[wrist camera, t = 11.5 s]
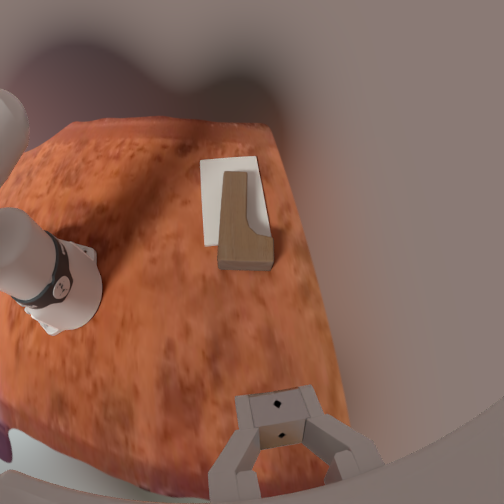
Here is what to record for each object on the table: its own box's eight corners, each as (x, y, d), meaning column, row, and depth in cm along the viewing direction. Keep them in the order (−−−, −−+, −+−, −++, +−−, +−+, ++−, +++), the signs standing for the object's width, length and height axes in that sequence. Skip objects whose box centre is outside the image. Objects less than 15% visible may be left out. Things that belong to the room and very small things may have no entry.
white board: (271, 240, 53) (271, 238, 52) (204, 246, 51) (204, 245, 51) (255, 157, 60) (255, 156, 60) (200, 162, 59) (200, 160, 58)
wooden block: (271, 271, 49) (269, 186, 57) (274, 262, 45) (271, 172, 53) (218, 270, 49) (223, 184, 56) (217, 260, 45) (223, 170, 52)
